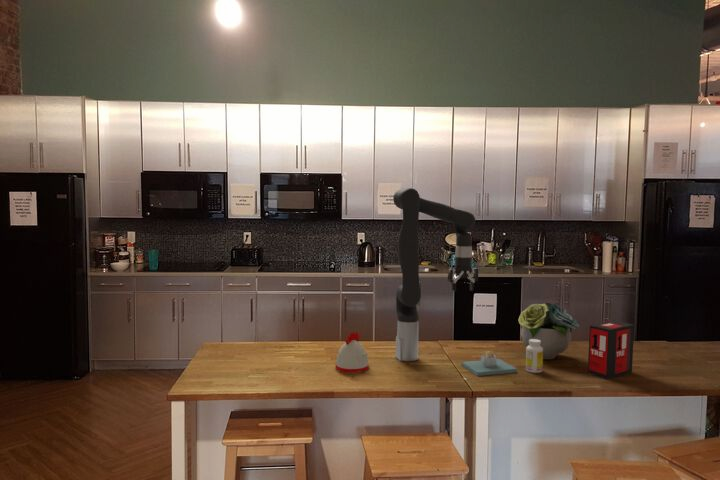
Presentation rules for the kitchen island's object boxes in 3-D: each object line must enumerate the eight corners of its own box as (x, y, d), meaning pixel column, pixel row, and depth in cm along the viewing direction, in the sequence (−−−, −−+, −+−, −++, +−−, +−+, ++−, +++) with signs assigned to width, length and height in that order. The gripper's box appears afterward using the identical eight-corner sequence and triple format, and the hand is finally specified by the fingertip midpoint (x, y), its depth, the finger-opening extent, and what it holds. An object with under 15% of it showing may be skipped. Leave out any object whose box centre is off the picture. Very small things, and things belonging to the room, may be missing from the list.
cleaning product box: (611, 366, 228) (613, 320, 227) (631, 372, 221) (634, 324, 219) (587, 373, 220) (589, 325, 218) (607, 379, 212) (609, 329, 211)
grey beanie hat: (375, 367, 226) (375, 332, 224) (352, 375, 215) (352, 338, 214) (351, 360, 235) (351, 326, 234) (328, 367, 225) (328, 332, 224)
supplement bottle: (542, 369, 224) (543, 339, 223) (542, 374, 218) (543, 343, 217) (525, 367, 226) (526, 337, 225) (525, 372, 220) (526, 341, 219)
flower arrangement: (548, 347, 258) (549, 296, 256) (586, 362, 235) (589, 307, 233) (504, 352, 249) (506, 300, 247) (540, 368, 226) (542, 311, 224)
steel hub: (485, 368, 221) (486, 358, 220) (478, 363, 226) (479, 354, 226) (498, 366, 222) (499, 357, 222) (491, 362, 228) (491, 353, 228)
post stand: (477, 375, 215) (477, 357, 215) (461, 365, 229) (462, 348, 228) (516, 372, 220) (517, 354, 219) (499, 362, 234) (499, 345, 233)
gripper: (474, 254, 251) (473, 288, 252) (445, 255, 248) (445, 290, 249) (481, 256, 244) (480, 291, 245) (452, 257, 240) (451, 292, 242)
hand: (462, 290), depth 247 cm, fingers open, 8 cm apart
